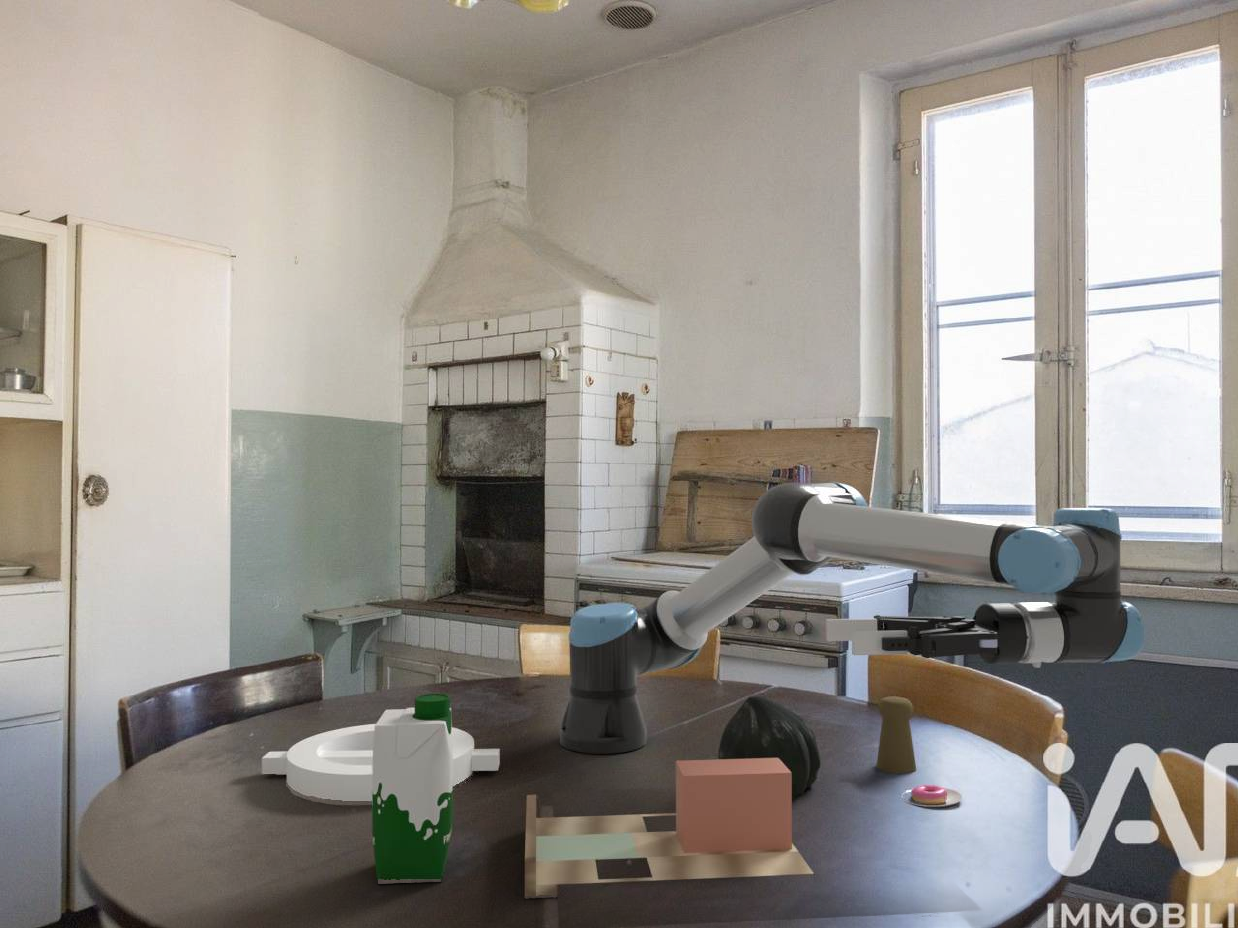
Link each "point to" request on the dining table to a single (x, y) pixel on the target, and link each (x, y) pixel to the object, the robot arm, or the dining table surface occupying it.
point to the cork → (896, 736)
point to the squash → (772, 739)
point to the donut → (934, 795)
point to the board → (643, 854)
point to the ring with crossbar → (358, 763)
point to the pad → (585, 847)
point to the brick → (733, 805)
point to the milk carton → (413, 789)
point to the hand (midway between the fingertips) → (839, 636)
